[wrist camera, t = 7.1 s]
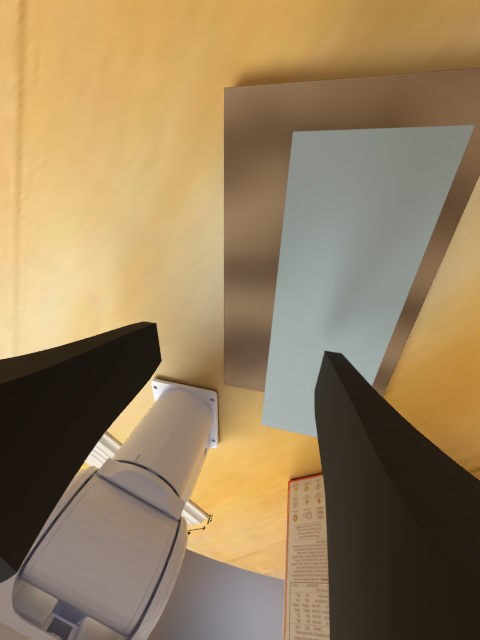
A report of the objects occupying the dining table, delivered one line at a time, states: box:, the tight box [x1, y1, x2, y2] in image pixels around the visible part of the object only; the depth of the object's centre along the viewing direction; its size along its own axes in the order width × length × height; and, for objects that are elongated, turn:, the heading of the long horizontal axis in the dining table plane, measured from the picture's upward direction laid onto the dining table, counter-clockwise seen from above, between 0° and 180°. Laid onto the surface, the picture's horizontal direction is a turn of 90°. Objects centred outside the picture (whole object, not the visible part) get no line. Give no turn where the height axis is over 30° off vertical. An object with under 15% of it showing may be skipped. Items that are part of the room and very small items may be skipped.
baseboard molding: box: [85, 432, 212, 535], centre depth 36 cm, size 31×3×12 cm
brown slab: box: [224, 68, 480, 396], centre depth 15 cm, size 22×14×5 cm, turn 178°
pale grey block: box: [261, 125, 475, 438], centre depth 11 cm, size 14×5×3 cm, turn 179°
